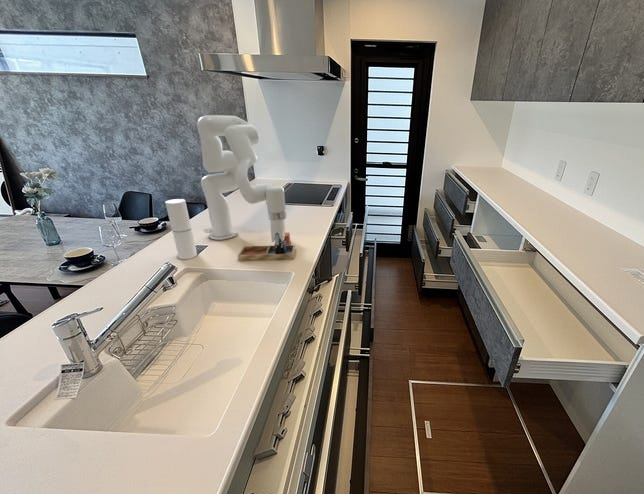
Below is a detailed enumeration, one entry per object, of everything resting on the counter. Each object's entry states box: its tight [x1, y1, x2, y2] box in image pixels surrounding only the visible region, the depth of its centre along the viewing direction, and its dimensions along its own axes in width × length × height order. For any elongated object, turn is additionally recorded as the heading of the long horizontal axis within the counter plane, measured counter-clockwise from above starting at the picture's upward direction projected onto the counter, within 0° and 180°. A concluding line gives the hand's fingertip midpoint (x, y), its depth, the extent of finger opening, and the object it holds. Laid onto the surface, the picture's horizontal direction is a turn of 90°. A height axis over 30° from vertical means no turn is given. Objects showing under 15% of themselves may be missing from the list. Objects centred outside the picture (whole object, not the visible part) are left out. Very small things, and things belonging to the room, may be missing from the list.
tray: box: [237, 244, 296, 262], centre depth 137 cm, size 23×10×2 cm, turn 98°
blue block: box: [273, 241, 287, 254], centre depth 137 cm, size 4×4×5 cm
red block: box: [284, 232, 291, 245], centre depth 150 cm, size 4×4×5 cm
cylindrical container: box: [164, 198, 198, 260], centre depth 130 cm, size 7×7×25 cm
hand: (281, 252), depth 138 cm, fingers closed on blue block, 4 cm apart
